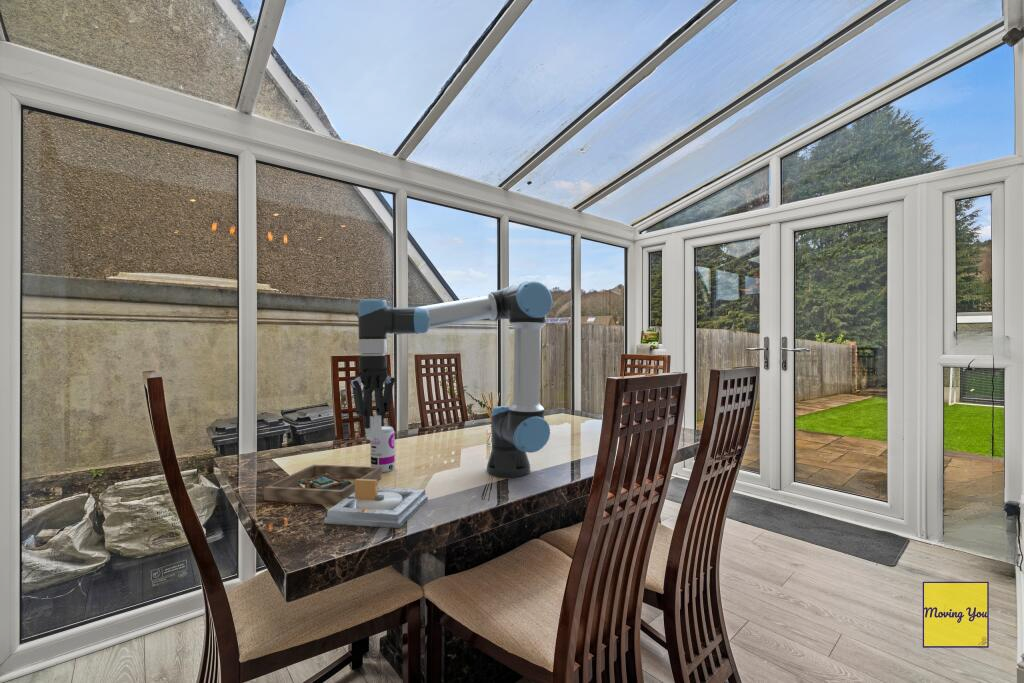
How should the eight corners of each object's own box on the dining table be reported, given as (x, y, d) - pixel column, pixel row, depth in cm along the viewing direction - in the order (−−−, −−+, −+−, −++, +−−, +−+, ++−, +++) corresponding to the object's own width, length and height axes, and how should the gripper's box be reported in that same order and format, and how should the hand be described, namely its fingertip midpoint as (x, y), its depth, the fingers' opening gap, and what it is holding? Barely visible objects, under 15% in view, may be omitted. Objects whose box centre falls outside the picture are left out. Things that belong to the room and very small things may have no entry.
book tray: (381, 479, 152) (381, 467, 152) (342, 506, 128) (342, 491, 128) (314, 476, 157) (314, 464, 157) (264, 501, 133) (263, 487, 132)
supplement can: (398, 467, 167) (397, 425, 166) (389, 474, 158) (389, 430, 158) (376, 466, 167) (375, 425, 167) (366, 473, 159) (366, 430, 159)
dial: (409, 498, 130) (408, 474, 130) (390, 514, 118) (390, 488, 118) (366, 496, 132) (366, 473, 132) (344, 512, 120) (344, 486, 120)
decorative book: (324, 481, 152) (324, 466, 152) (354, 492, 141) (353, 476, 141) (283, 492, 142) (282, 475, 142) (311, 505, 130) (311, 487, 130)
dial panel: (427, 499, 133) (427, 488, 133) (399, 528, 113) (399, 514, 113) (362, 496, 136) (362, 485, 136) (324, 523, 116) (324, 510, 116)
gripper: (388, 353, 137) (389, 432, 137) (341, 355, 126) (342, 441, 126) (403, 354, 132) (404, 436, 132) (355, 356, 121) (356, 445, 121)
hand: (373, 438), depth 129 cm, fingers closed
